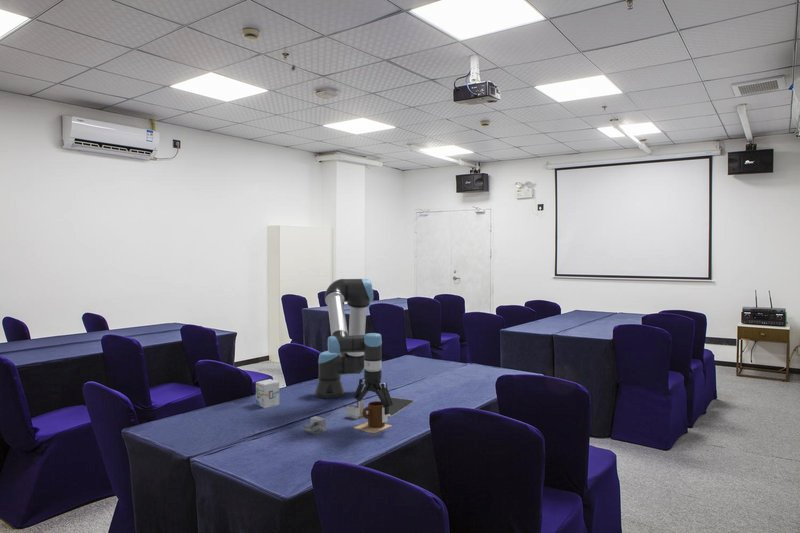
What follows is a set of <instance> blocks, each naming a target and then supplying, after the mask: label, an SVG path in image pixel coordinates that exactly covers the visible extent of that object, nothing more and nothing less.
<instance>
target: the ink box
mask: <svg viewBox="0 0 800 533" xmlns="http://www.w3.org/2000/svg"><path fill="white" fill-rule="evenodd" d="M279 405H280V381H278V380H274V379H272V378H271V379H270V378H269V379H264V380H260V381H256V382H255V406H258V407H261V408H263V409H266V408H272V407H275V406H279Z"/></svg>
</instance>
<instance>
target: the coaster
mask: <svg viewBox="0 0 800 533" xmlns="http://www.w3.org/2000/svg"><path fill="white" fill-rule="evenodd" d="M392 427H393V425H391V424H387V423H385V425H384V426H383V427H378V428H374V427H370V426H369V425H368V421H365V422H363V423H360V424H358V425H355V426H354V427H353V428H352V429H355V430H358V431H362V432H365V433H368V434H372V435H375V434H378V433H381V432H383V431H385V430H387V429H390V428H392Z"/></svg>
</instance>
